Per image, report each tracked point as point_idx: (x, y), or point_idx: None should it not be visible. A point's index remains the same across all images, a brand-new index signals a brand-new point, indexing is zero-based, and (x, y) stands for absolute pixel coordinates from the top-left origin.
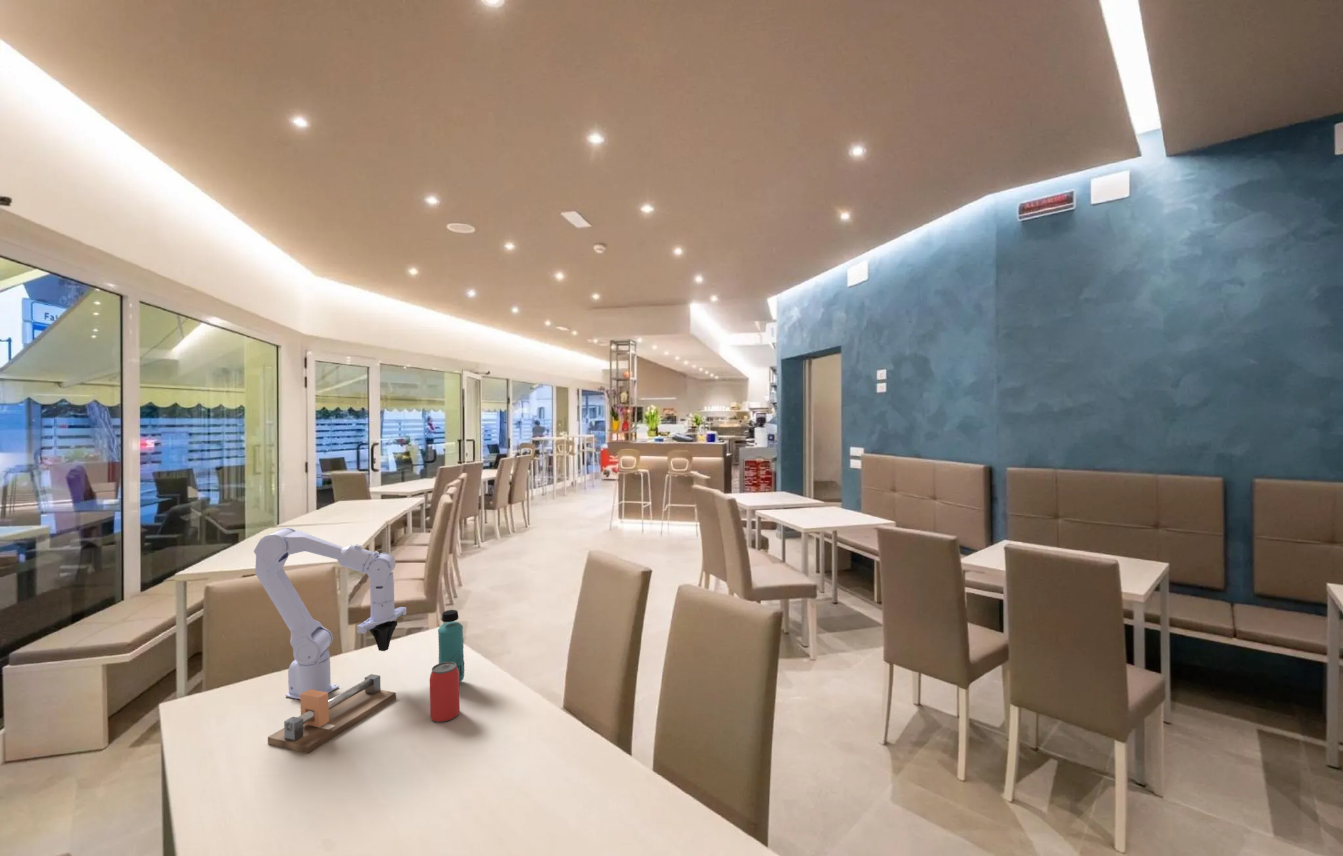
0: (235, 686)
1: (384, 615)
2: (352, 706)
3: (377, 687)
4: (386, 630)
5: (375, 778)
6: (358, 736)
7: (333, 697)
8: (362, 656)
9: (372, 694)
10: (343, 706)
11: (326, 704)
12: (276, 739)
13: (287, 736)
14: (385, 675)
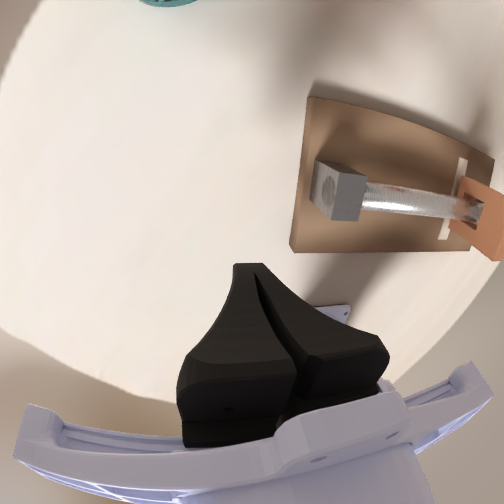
0: None
1: (418, 482)
2: (400, 177)
3: (334, 164)
4: (338, 338)
5: (494, 22)
6: (453, 93)
7: (453, 215)
8: (131, 372)
9: None
10: None
11: (495, 191)
12: None
13: None
14: (178, 253)
